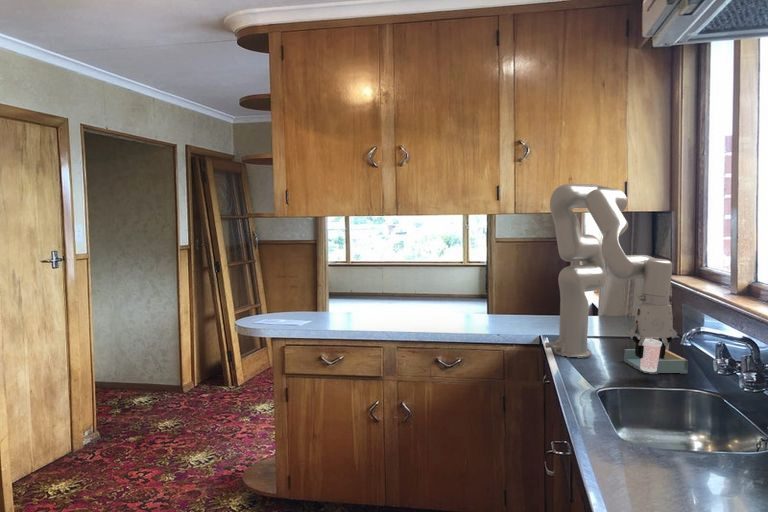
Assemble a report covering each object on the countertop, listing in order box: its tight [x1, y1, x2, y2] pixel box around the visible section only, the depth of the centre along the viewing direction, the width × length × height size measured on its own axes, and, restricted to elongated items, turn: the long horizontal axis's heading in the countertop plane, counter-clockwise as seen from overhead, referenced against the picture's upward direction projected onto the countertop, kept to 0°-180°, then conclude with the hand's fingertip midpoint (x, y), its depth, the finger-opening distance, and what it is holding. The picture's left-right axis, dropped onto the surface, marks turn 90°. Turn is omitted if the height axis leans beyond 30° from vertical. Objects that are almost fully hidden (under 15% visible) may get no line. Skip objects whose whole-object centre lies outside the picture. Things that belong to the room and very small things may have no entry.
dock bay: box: [623, 348, 689, 375], centre depth 193 cm, size 14×14×4 cm
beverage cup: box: [640, 338, 662, 372], centre depth 179 cm, size 6×6×14 cm
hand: (649, 356), depth 180 cm, fingers closed on beverage cup, 6 cm apart
